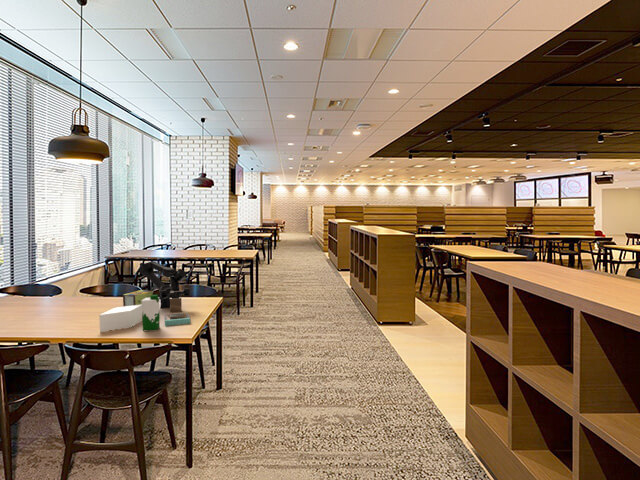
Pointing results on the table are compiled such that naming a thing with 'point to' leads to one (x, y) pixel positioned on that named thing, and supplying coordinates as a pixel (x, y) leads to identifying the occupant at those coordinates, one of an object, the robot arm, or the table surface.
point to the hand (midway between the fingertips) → (176, 303)
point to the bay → (177, 321)
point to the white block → (120, 317)
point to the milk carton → (150, 313)
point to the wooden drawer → (176, 309)
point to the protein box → (135, 297)
